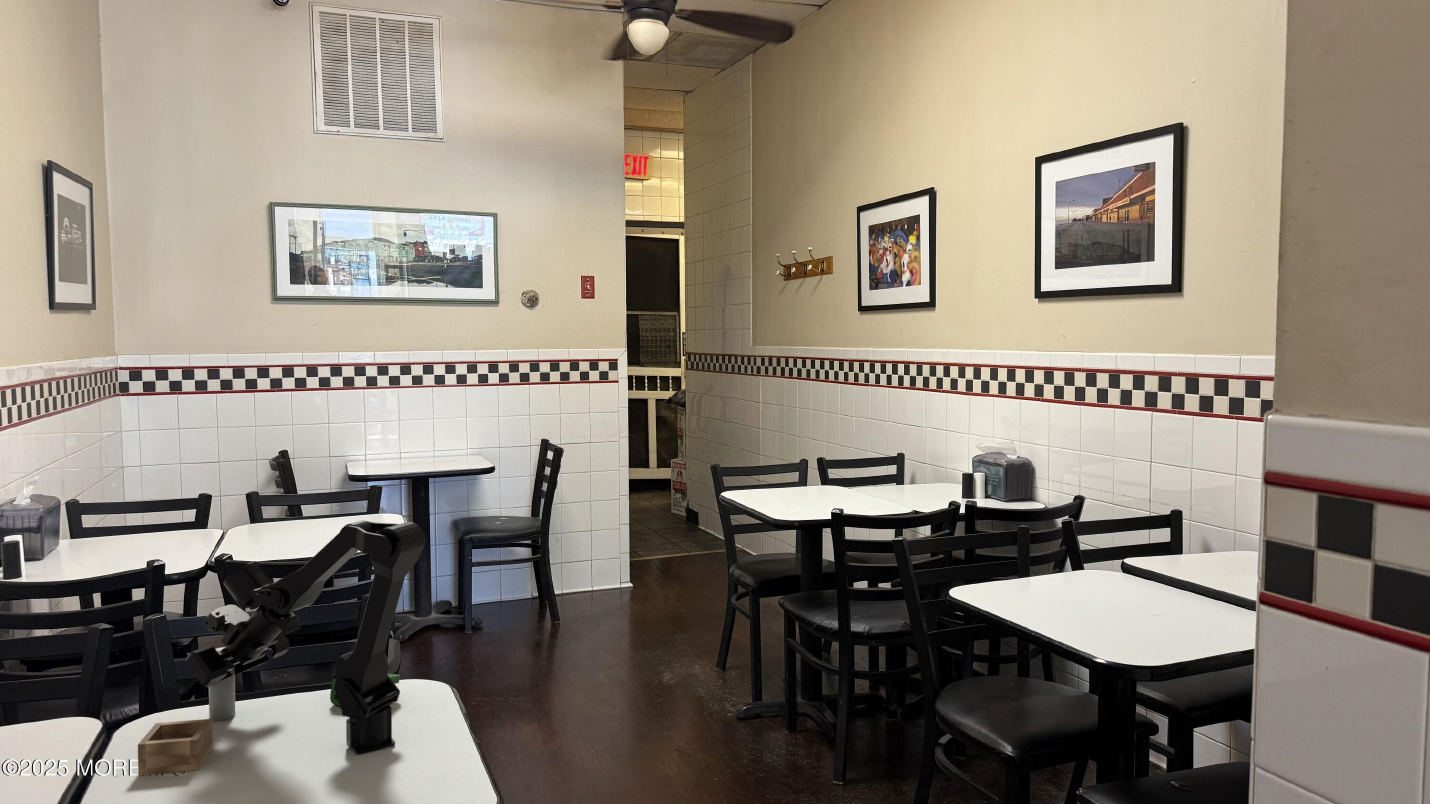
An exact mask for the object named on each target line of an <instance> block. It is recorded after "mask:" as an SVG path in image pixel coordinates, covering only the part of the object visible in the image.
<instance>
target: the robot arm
mask: <svg viewBox="0 0 1430 804" xmlns="http://www.w3.org/2000/svg"><path fill="white" fill-rule="evenodd" d="M425 545H426V534H424V532H423V530H422V528H421V527H420V526H419V525H418V524H417V523H415V522H413V521H406V522H402V523H390V522H375V521H369V520H358V521H354V522H351V523H346V524H345V525H343V527H342V528H341V529H340V531H339V532H338V533H337V534H336V535H335V536H334V537H333V538H332V539H331V540H330V541H329V542H328V543H326V545H325V546H323V547H322V548H321V549H320V550H319V551H318V552H317V553H316V554H315V555H314V556H313V557H311V558H310V559H309V561H307V562H306V563H305V564H304V565H303V566H301V567H300V568H299V569H297V570H295V571H293V572H291V573H289V574H287V575H285V576H283V577H281V578H280V579H278V580H277V581H275V582H273V583H272V582H271V581H270V579H269V578H268V577H267V575H266V574H265V573H264V571H263V570H262V568H261V567H260V565H259V563H258V562H257V561H255V560H254V561H251V562H247V563H245V565H244V566H243V567H241V568H239V569H237V570H236V571H234V572H233V573H231V574H230V575H228V576H226V577H225V579H224V581H223V585H224V587H225V588H226V589H227V591H228V592H229V594H230V595H231V596H232V597H233V599H234V601H235V602H236V603H237V604H238V605H236V604H227V605H224V606H220V607H218V608H215V609H214V610H213V611H210V612H209V614H208V615H207V616H205V618H204V619H205V620H204V623H203V626H204V628H205V629H207V630H208V631H209V632H210V633H212V634H215V633H218V634H220V635H221V636H223V637H222V638H221V641H220V642H221V643H222V644H223V645H224V646H225V647H226V646H227V647H226V648H223V647H222V648H223V649H222V650H221V652H222V655H219V654H218V652H217V651H216V649H217V648H216V647H214V646H211V645H206V646H204V647H201V648H198V649H195V650H192V651H191V652H190V653H189V654H188V656H187V657H186V658H185V663H186V665H187V667H189V670H191V672H192V673H193V675H194V676H195V677H196V679H197V681H198V682H199V683H200V685H201V686H204V687H205V688H209V686H211V685H213V684H215V683H217V682H220V681H222V680H225V679H227V678H229V677H232V676H233V675H232V674H231V672H230V670H232V669H233V668H234V664H235V676H237V675H240V674H242V673H243V672H248V671H249V670H251V669H254V668H256V667H259V666H260V665H264V664H265V663H267V662H269V660H270V658H269V657H268V655H267V652H268V651H267V649H268V648H269V647H270V649H271V650H272V651H273V652H272V653H271V655H270V656H271V657H272V658H273V659H276V658H279V657H281V656H283V655H285V654H286V653H287V652H288V651H289V650H290V647H291V646H290V640H289V639H288V638H287V636H286V635H287V634H289V633H291V632H294V631H298V630H300V628H301V623H300V621H299V616H298V615H295V614H294V611H298V610H301V609H304V608H305V607H309V606H311V605H313V604H314V602H315V601H316V600H317V599H318V598H319V596H320V595H321V594H322V592H323V590H324V584H325V583H326V582H327V580H328V579H330V578H331V576H333V574H335V573H336V572H337V571H338V570H339V569H341V567H342V566H343V565H345V564H346V562H348V561H349V560H350V559H351V558H352V557H353V556H355V555H356V553H358V552H361V553H362V554H364V555H369V556H370V563H371V566H372V568H373V570H374V576H373V580H372V583H371V587H370V590H369V594H368V599H367V602H366V605H365V608H364V612H363V617H362V619H361V620H362V621H361V625H360V627H359V631H358V634H357V640H356V643H355V646H354V649H353V650H352V651H350V652H347V653H345V654H343V655H341V656H339V657H338V659H337V661H336V669H335V672H334V673H333V674H334V676H333V675H332V677H331V680H332V679H335V682H334V691H335V692H336V695H337V698H338V701H339V705H338V706H339V707H340V710H341V714H342V716H343V717H347V719H346V721H345V726H346V727H345V737H346V739H345V741H346V744H347V745H348V747H350V749H352V750H353V752H354V753H355V754H357V755H360V754H364V753H368V752H372V751H376V750H380V749H384V748H389V747H392V746H395V745H396V741H395V740H394V739H393V737H392V736H393V735H392V734H393V727H392V726H393V725H392V723H393V721H392V720H393V719H392V718H393V717H392V715H393V714H392V712H393V710H392V709H393V708H392V706H391V705H392V704H394V703H396V702H398V700H399V697H400V695H401V690H400V688H398V686H397V685H396V684H394V682H393V681H392V680H391V678H390V677H389V676H388V675H387V674H389V661H388V658H387V656H386V653H385V652H386V651H385V650H386V647H387V643H388V640H389V636H390V632H391V629H392V626H393V625H392V624H393V623H394V622H393V621H394V617H395V615H396V610H397V608H398V603H399V599H400V596H401V593H402V589H403V585H404V582H405V578H406V577H407V575H408V573H409V572H410V571H411V570H412V569H413V567H414V566H415V564H416V563H417V562H418V560H419V559H420V556H421V554H422V552H423V550H424V547H425ZM246 609H249V610H255V611H254V612H253V614H251V616H250V615H249V614H248V613H247V612H246V611H244V610H246ZM371 695H373V696H372V697H370V698H368V699H366V698H367V697H369V696H371ZM364 699H366V700H364Z"/></svg>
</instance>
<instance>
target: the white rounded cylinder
mask: <svg viewBox="0 0 1430 804" xmlns="http://www.w3.org/2000/svg"><path fill="white" fill-rule="evenodd" d="M223 648H226V646H225V647H224V646H223V647H217V648H215V649H216V651H217V652H218V654H219V655H222V652H221V650H222V649H223ZM230 672H231V674H232V675H233V676H232V677H229V678H227V679H225V680H222V681H220V682H217V683H215V684H213V685H211V686H208V704H209V705H208V708H209V709H208V712H209V713H208V714H209V717H208V719H212V722H222V721H228V720H230V719H233V718H234V717H235V716H236V675H235V664H234V668H233V669H232V670H230Z"/></svg>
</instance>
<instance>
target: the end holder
mask: <svg viewBox="0 0 1430 804" xmlns="http://www.w3.org/2000/svg"><path fill="white" fill-rule="evenodd" d="M213 734H214V733H213V721H212V719H209V718H205V719H192V720H191V719H190V720H178V721H165V722H156V723H155V724H154V725H153V726H152V727H151V729H149V731H148V732H147V733H146V734H145V736H143V738H142V739H141V740H140V741H139V742H138V744H137V765H138V766H137V767H138V769H137V770H138V774H137V775H138V776H145V775H157V774H169V773H179V772H181V773H182V772H190V771H192V772H193V771H199V769H200V768H201V766H202V764H203V763H204V762H205V760H206V759H207V757H208V755H210V752H211V751H212V749H213V748H214V743H213V742H214V741H213V740H214V738H213V737H214V736H213Z"/></svg>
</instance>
